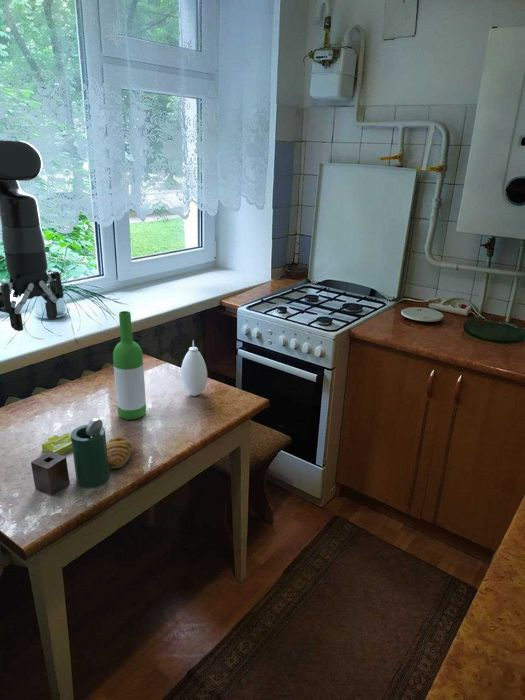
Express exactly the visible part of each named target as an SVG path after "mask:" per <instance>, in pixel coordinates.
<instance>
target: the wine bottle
mask: <svg viewBox="0 0 525 700" xmlns="http://www.w3.org/2000/svg"><path fill="white" fill-rule="evenodd" d="M118 318H119V319H118V321H119V333H120V334H119V335H120V341H119V342H118V343H117V344H116V345H115V347H114V349H113V352H112V362H113V372H114V375H113V376H114V384H115V385H114V387H115V396H116V408H117V414H118V416H119V417H120V418H121V419H124V420H129V421H132V420H133V421H134V420H137V419H141V418H142V417H144V415H146V412H147V411H146V410H147V399H146V384H145V383H146V382H145V370H144V369H145V368H144V355H143V350H142V348H141V346H140V345H139V344H138V343H137V342H136V341H134V339H133V328H132V314H131V312H130V311H128V310H122V311H120V312H119V313H118Z"/></svg>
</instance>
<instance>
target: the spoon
mask: <svg viewBox="0 0 525 700" xmlns="http://www.w3.org/2000/svg"><path fill="white" fill-rule="evenodd" d="M86 425H87V428H86V434H87V435H88V436H90V437H91V438H92V437H95V436H96V435H97V434H98V433H99V432H100V431H101V429H102V427H103V421H102V419H99V418H97V417H95V418H92V419H91V420H90V421H89V422H88V424H86Z"/></svg>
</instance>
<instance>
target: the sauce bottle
mask: <svg viewBox="0 0 525 700" xmlns="http://www.w3.org/2000/svg"><path fill="white" fill-rule="evenodd" d="M180 382H181V386H182V388H183V390H184V392H185V393H187V394H188V395H189V396H192V397H197V396H198V395H199V396H200V394H201V393H203V392H204V391H205V389H206V387H207V384H208V369H207V365H206V361H205V359H204V357H203V355H202V354H201V351H199V348H198V347H197V346H195V340H194V339H193V340H192V346H191V347H189V348H188V351H187V352H186V354H185V356H184V358H183V360H182V363H181V368H180Z"/></svg>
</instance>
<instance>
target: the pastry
mask: <svg viewBox="0 0 525 700" xmlns="http://www.w3.org/2000/svg"><path fill="white" fill-rule="evenodd" d="M106 446H107V456H108V466H109V470H113V469H119V468H123V467H124V466H125V464H126V463H127V462H128V461H129V460H130V457H131V455H132V449H133V444H131V442H130V441H129V440H128V439H127V438H125V437H123V436H116V437H114V438H111V439H109V440H108V441H106Z"/></svg>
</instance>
